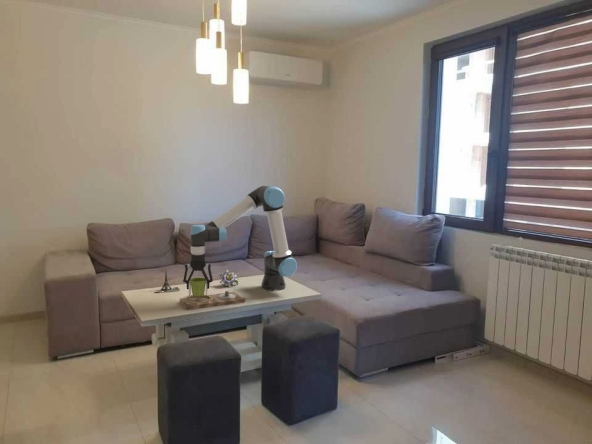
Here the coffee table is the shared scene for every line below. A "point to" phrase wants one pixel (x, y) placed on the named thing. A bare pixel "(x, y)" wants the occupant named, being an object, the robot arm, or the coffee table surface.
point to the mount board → (211, 300)
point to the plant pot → (198, 286)
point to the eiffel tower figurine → (168, 286)
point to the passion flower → (229, 278)
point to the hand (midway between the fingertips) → (198, 294)
